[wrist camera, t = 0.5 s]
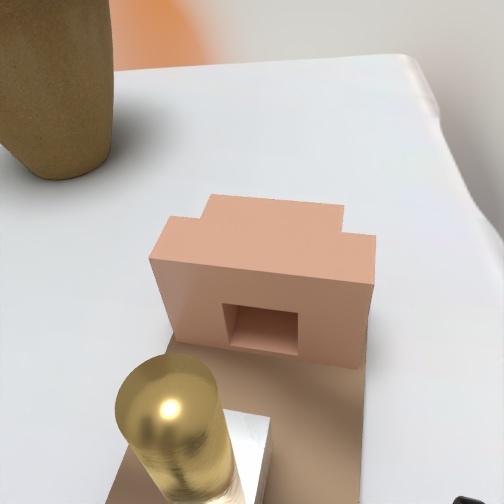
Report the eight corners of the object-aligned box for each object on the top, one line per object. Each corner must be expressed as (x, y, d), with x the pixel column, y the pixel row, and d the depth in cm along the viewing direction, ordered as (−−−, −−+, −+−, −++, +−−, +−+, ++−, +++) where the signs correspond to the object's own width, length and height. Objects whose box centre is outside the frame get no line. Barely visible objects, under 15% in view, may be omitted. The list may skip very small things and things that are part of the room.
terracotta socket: (357, 369, 24) (374, 284, 19) (176, 341, 26) (148, 258, 21) (361, 296, 27) (377, 208, 22) (201, 277, 29) (182, 191, 24)
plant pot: (-18, 227, 36) (-163, 11, 24) (-4, 136, 46) (-101, -47, 35) (165, 182, 38) (110, -32, 27) (140, 105, 49) (93, -74, 37)
